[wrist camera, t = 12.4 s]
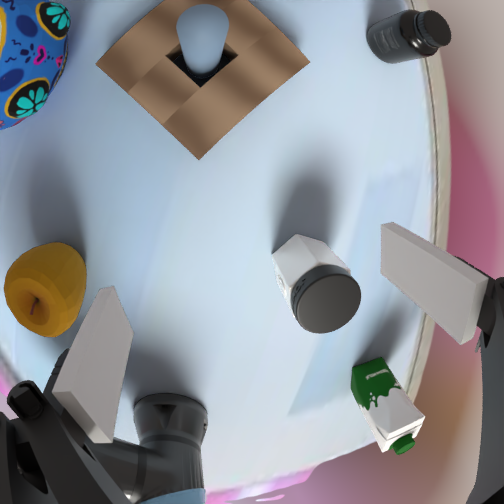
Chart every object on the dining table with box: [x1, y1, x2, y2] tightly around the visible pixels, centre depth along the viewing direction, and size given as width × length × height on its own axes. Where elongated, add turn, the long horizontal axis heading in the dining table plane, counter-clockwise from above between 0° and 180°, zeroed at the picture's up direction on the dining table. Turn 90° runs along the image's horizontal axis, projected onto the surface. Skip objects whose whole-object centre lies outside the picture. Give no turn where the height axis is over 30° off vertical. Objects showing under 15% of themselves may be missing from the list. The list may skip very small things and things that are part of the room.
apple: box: [4, 242, 87, 337], centre depth 33 cm, size 11×11×13 cm
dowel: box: [176, 4, 229, 78], centre depth 25 cm, size 4×4×15 cm
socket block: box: [96, 0, 310, 160], centre depth 29 cm, size 17×17×5 cm
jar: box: [272, 234, 361, 333], centre depth 39 cm, size 9×8×12 cm
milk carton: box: [351, 357, 425, 455], centre depth 49 cm, size 9×9×20 cm
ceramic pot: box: [0, 0, 70, 130], centre depth 20 cm, size 18×18×15 cm
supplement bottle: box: [367, 10, 451, 64], centre depth 27 cm, size 7×7×12 cm
